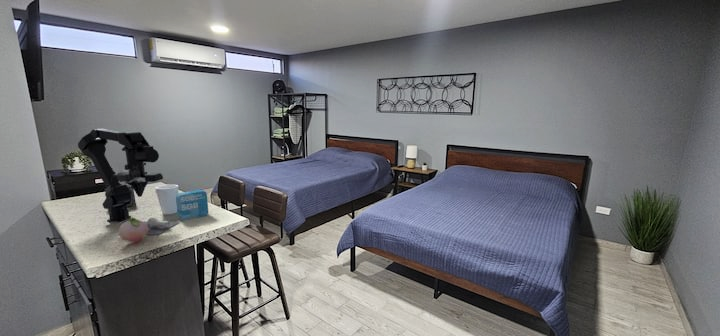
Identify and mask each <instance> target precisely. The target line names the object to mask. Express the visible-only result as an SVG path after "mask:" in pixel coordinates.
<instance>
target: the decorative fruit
mask: <svg viewBox="0 0 720 336" xmlns="http://www.w3.org/2000/svg"><path fill="white" fill-rule="evenodd" d="M145 222H146V221H142V220H140V219H137V218H135V217H133V216H131V217H130V218H127V220H126V221H124V222H122V224H121V225H120V226H119V229H118V234H119V235H118V236H120V238H121V239H122V240H124V241H126V242H131V243H138V242H140V241H142V240H143V239H144V238H145V237H146V236H147V235H146V234H147V232H148V226H147V224H146V223H145Z"/></svg>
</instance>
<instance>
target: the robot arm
mask: <svg viewBox="0 0 720 336" xmlns="http://www.w3.org/2000/svg"><path fill="white" fill-rule="evenodd" d="M108 141H114V142H118V144H120V145H122V146H124V147H122V149H121V151H122V152H125V158H126V159H125V160H126V164H124V169H122V170H120V171H119V172H118V173H115V172H114V170H113V168H112V166H111V164H110V163H109V160H108V158H107V157H106V154H105V153H106V150H107V148H106V144H108ZM77 146H78V147H77V148H78V149H79V150H80V152H81V153H82V154H83V155H84V156H85V157H87V158H89V159H90V160H91V162H92V163H93V165H94V167H95V168H96V171H97V173H98V174H99V176H100V179H101V180H102V182H103V184H104V187H105V189H106V192H104V197H105V200H104V201H103V202H102V207H103V209H104V210H105V209H106V210H107V211H108V215H109V216H108V217H109V219H107V220H106V222H123V221H125V220H128V219H130V218H132V215H130V211H129V209H128V208H129V207H127V205H128V204H130V203H131V196H132V195H131V193H130V192H131V191H130V190H129V189H128V186H127V185H130V186H132V188H133V189H134V193H135V194H136V196H137V197H138V198H140V197H142V196H143V194H144V191H145V190H146V187H147V184H148V183H156V182H157V181H161V180H163V179H164V176H163V174H162V173H161V172H153V173H148V171H145V166H147V163H156V162H157V161H158V160H159V158H160V154H159V153H158V151H157V150H156V149H155V148H154V146H153V145H150V144H149V142H148V141H147V139H146V138H145V136H144V135H143V134H142V132H140V131H128V132H127V131H126V132H124V131H117V130H113V129H112V130H111V129H107V128H94V129H92V130H90V132H88V133H87V134H85V135H84V136H83V137H81V138H80V140H79V141H78V143H77ZM122 182H123V183H124V184H122Z"/></svg>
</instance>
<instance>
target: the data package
mask: <svg viewBox="0 0 720 336" xmlns="http://www.w3.org/2000/svg"><path fill="white" fill-rule="evenodd" d="M176 204H177V212H176V214H177V217H178V218H179V219H180V220H182V221H186V220H191V219H196V218H200V217H206V216H207V215H208V214H209V205H208V204H209V201H208V193H207V192H206V191H205V190H203V189H195V190H189V191H184V192H183V191H182V192H178V194H177V195H176Z"/></svg>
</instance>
